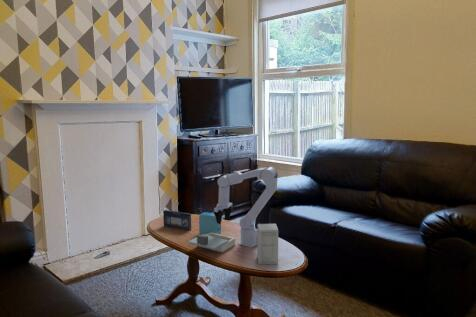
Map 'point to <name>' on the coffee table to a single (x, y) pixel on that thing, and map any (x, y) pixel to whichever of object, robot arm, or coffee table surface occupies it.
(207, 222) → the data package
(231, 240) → the carton
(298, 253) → the coffee table surface
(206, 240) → the lid flap
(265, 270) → the coffee table surface
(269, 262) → the supplement box
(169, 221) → the vhs cassette tape
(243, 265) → the coffee table surface
